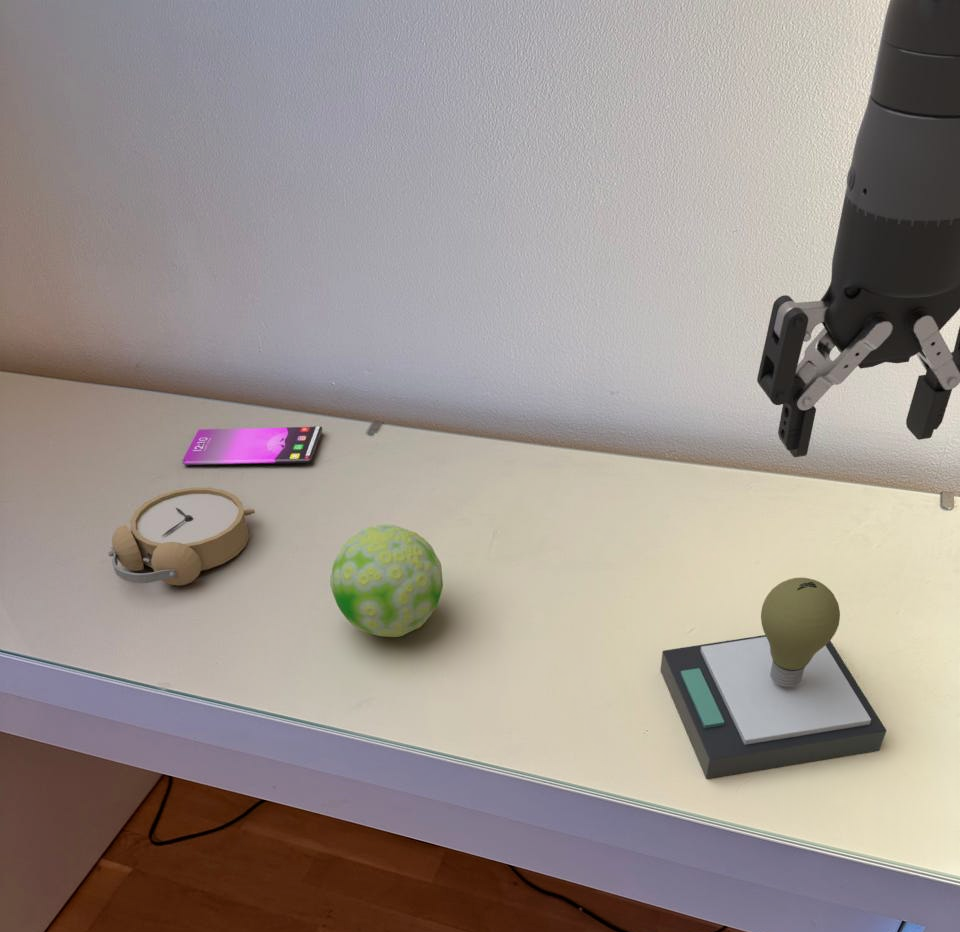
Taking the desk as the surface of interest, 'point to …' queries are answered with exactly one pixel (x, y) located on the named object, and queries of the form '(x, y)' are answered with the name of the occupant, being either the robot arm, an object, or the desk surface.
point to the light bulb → (797, 626)
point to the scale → (766, 707)
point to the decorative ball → (387, 580)
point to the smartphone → (253, 446)
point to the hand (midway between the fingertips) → (856, 441)
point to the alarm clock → (181, 535)
